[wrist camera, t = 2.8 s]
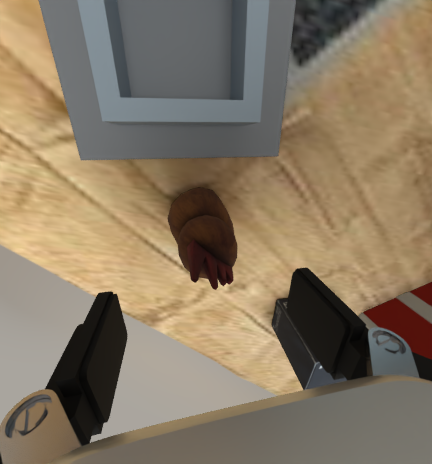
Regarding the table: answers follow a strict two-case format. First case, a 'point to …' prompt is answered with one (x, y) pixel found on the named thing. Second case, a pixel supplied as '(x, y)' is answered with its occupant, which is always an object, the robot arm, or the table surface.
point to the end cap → (172, 75)
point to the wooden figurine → (204, 236)
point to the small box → (299, 350)
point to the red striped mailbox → (406, 318)
